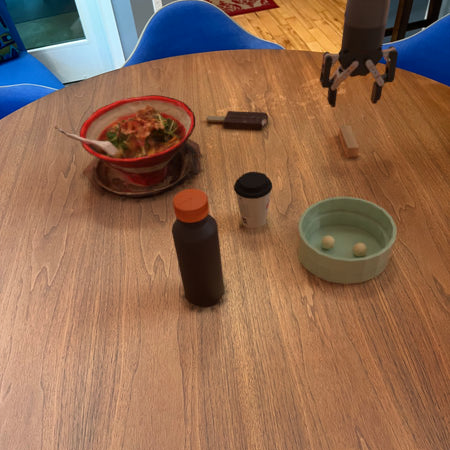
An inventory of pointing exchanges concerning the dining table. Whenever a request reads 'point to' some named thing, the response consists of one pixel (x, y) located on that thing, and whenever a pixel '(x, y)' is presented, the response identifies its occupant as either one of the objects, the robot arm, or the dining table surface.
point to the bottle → (197, 248)
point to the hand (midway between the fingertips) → (353, 103)
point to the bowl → (345, 239)
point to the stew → (140, 145)
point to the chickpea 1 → (327, 242)
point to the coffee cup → (253, 198)
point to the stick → (348, 141)
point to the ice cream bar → (242, 120)
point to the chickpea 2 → (359, 249)
